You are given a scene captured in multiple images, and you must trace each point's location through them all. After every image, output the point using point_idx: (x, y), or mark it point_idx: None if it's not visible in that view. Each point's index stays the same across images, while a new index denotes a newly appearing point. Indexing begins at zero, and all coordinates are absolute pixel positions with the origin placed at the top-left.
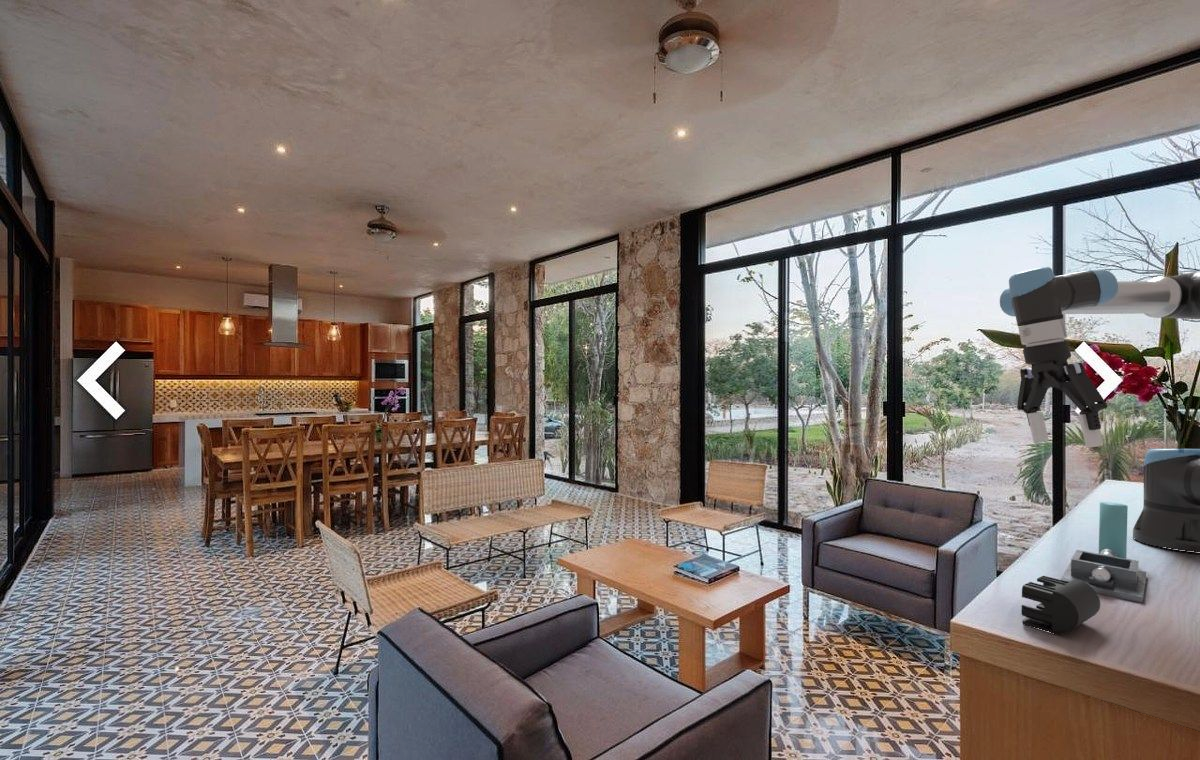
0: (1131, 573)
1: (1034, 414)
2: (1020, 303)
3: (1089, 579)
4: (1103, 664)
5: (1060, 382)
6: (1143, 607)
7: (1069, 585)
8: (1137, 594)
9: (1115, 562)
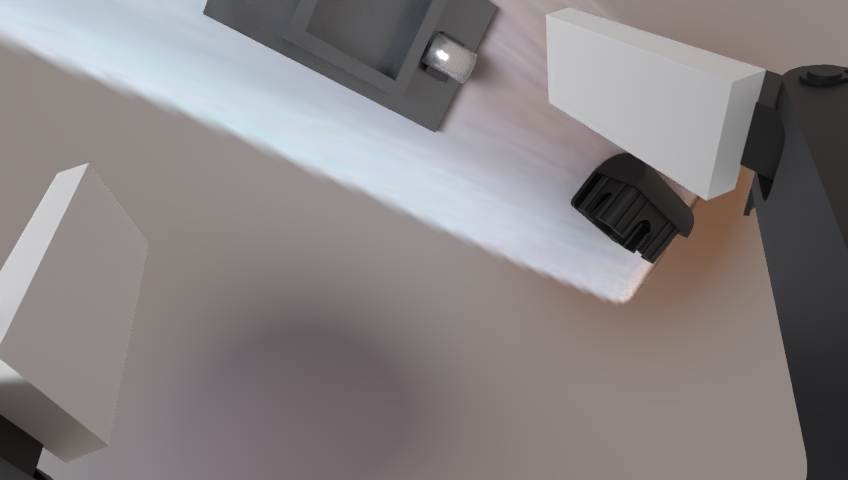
0: None
1: (83, 403)
2: None
3: (446, 81)
4: None
5: None
6: (513, 20)
7: (665, 208)
8: (481, 7)
9: None
